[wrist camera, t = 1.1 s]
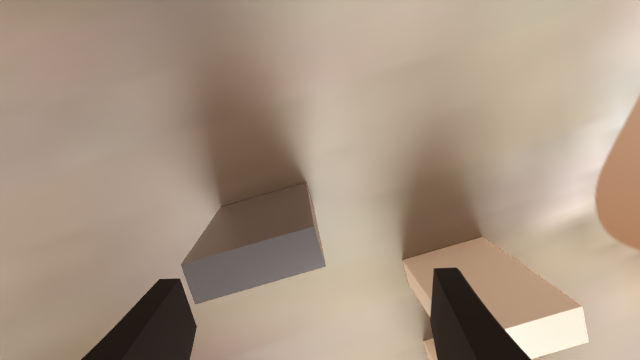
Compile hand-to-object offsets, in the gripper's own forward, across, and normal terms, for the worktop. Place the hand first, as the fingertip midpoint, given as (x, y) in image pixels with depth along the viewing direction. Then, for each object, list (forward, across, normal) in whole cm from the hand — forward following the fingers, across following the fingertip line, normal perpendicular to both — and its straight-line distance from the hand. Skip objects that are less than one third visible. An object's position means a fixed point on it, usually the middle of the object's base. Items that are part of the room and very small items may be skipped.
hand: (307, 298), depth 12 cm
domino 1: (+11, +3, +5) cm, 13 cm away
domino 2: (+11, -7, +9) cm, 16 cm away
